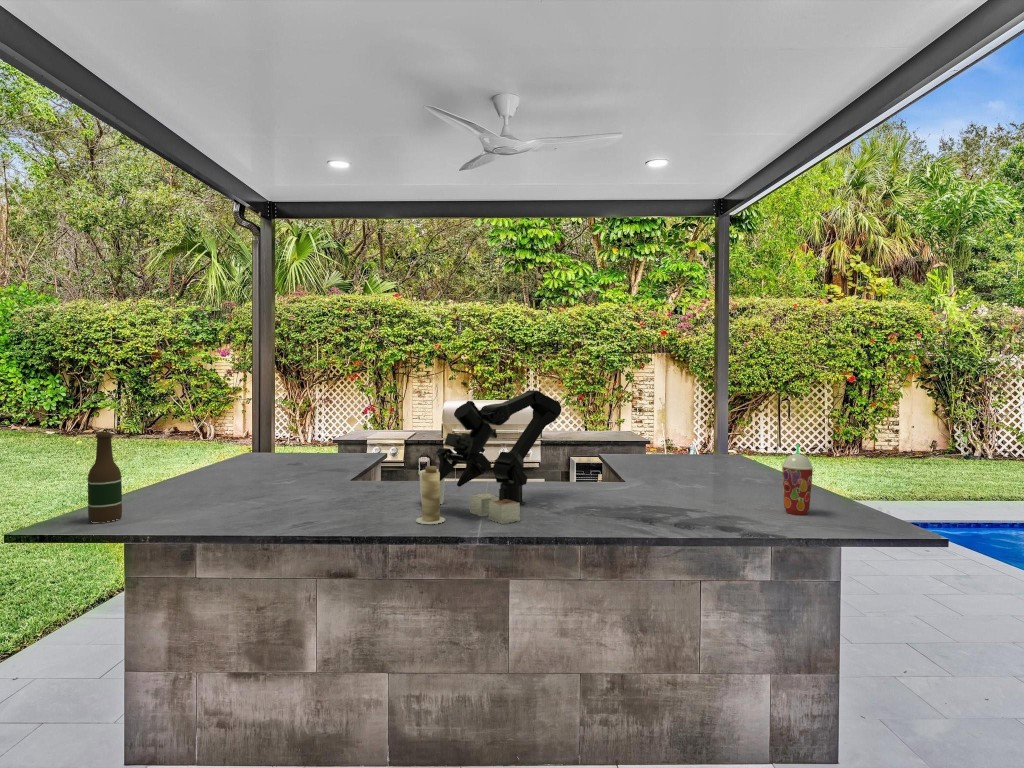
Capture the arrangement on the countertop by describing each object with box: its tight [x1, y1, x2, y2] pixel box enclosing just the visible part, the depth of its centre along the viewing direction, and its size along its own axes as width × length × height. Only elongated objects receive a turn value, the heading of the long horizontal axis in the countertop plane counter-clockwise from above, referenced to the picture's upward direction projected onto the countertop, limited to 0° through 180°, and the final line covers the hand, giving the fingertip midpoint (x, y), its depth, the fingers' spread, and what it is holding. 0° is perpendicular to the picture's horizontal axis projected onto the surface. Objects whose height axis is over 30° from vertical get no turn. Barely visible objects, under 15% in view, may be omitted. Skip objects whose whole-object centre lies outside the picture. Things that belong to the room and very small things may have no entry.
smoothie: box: [781, 444, 814, 516], centre depth 182 cm, size 8×8×20 cm
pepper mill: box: [421, 465, 441, 522], centre depth 170 cm, size 5×5×14 cm
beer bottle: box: [87, 431, 123, 522], centre depth 170 cm, size 8×8×24 cm
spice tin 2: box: [488, 499, 521, 525], centre depth 172 cm, size 6×6×5 cm
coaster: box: [415, 516, 446, 525], centre depth 170 cm, size 8×8×1 cm
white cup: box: [418, 468, 446, 505], centre depth 192 cm, size 8×8×10 cm
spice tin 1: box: [469, 492, 499, 518], centre depth 180 cm, size 6×6×5 cm
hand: (447, 483), depth 174 cm, fingers open, 9 cm apart
